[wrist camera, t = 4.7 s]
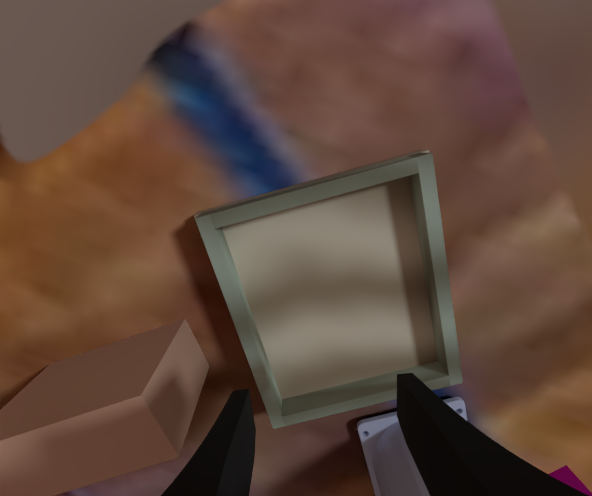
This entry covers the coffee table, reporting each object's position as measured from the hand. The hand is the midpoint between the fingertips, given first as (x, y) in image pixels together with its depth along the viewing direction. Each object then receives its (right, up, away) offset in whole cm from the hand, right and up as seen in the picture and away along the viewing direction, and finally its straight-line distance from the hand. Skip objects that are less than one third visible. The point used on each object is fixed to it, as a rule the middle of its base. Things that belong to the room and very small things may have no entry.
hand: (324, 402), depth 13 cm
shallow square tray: (+1, +3, +8) cm, 9 cm away
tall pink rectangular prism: (-13, -2, +10) cm, 16 cm away
